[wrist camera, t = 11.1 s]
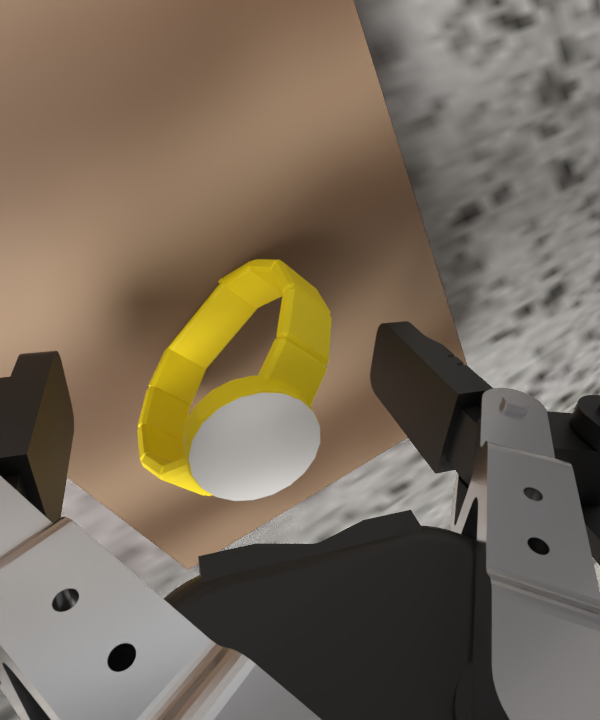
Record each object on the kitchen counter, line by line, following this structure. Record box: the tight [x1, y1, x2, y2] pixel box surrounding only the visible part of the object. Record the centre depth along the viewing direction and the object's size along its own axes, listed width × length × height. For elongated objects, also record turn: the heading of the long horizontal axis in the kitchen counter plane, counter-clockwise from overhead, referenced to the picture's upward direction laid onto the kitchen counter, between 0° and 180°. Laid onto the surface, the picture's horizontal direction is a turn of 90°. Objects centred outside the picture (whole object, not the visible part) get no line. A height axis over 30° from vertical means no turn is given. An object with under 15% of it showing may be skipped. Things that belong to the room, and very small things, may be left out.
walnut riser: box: [0, 0, 467, 569], centre depth 16 cm, size 18×14×4 cm
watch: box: [137, 259, 332, 501], centre depth 12 cm, size 6×3×6 cm, turn 137°
